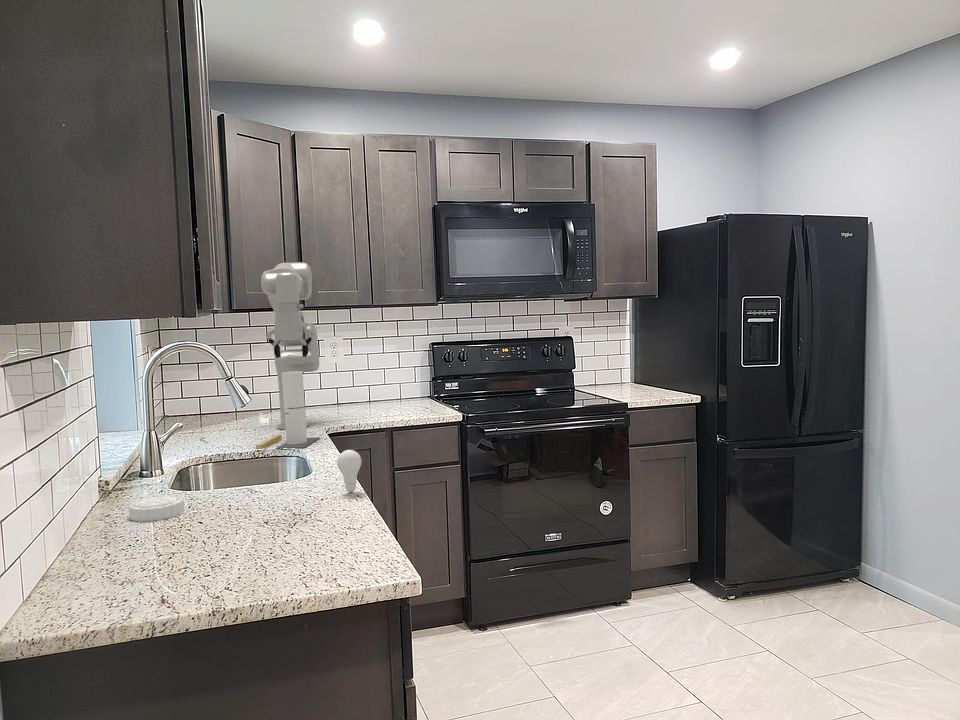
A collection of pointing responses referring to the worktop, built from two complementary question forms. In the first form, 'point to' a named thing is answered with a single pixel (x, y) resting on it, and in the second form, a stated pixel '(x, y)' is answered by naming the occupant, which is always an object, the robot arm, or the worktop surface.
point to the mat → (303, 445)
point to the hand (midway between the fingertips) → (291, 357)
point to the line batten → (269, 441)
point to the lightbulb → (349, 468)
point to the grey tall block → (294, 407)
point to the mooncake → (156, 508)
